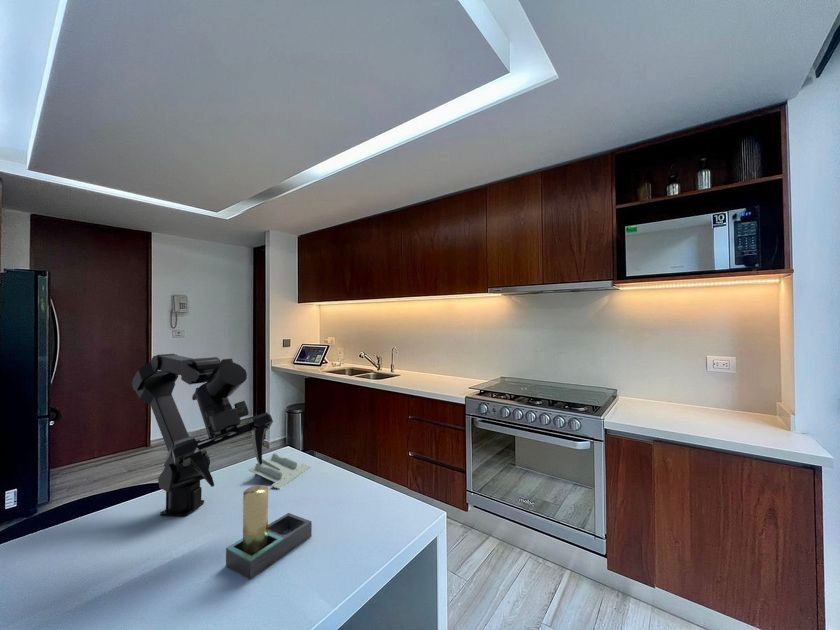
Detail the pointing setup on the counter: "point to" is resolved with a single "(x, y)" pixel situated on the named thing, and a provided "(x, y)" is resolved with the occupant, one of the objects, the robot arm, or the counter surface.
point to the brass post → (255, 519)
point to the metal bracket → (279, 470)
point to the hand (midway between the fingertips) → (237, 474)
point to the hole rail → (269, 546)
